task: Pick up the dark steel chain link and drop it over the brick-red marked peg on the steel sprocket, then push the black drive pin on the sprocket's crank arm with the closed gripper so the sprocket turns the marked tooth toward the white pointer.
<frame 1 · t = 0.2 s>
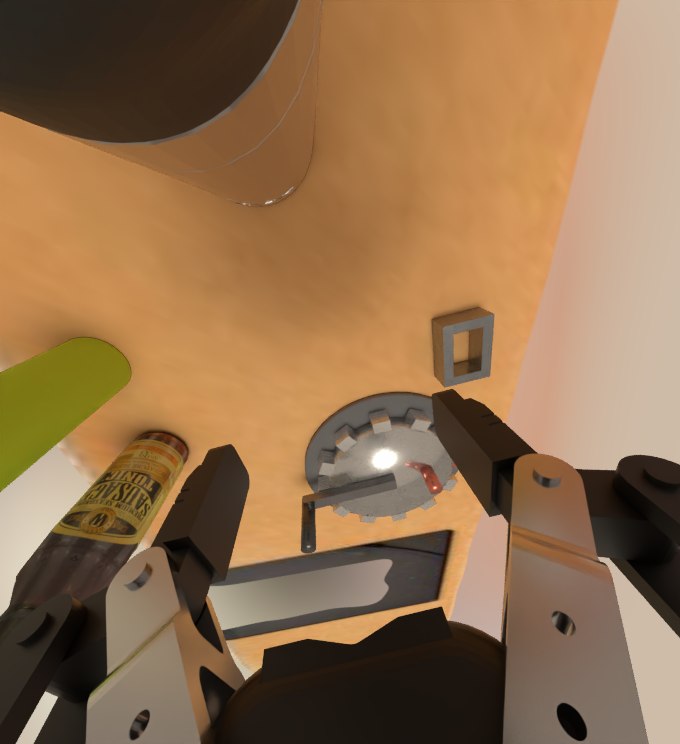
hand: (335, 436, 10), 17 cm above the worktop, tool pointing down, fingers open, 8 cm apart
chain link: (455, 343, 29), on the worktop
soap dispenser: (99, 369, 26), on the worktop
sprocket base: (385, 459, 36), on the worktop
sauce bottle: (161, 447, 31), on the worktop
sprocket: (386, 494, 32), point 5 cm above the worktop, hinge at 0.0°
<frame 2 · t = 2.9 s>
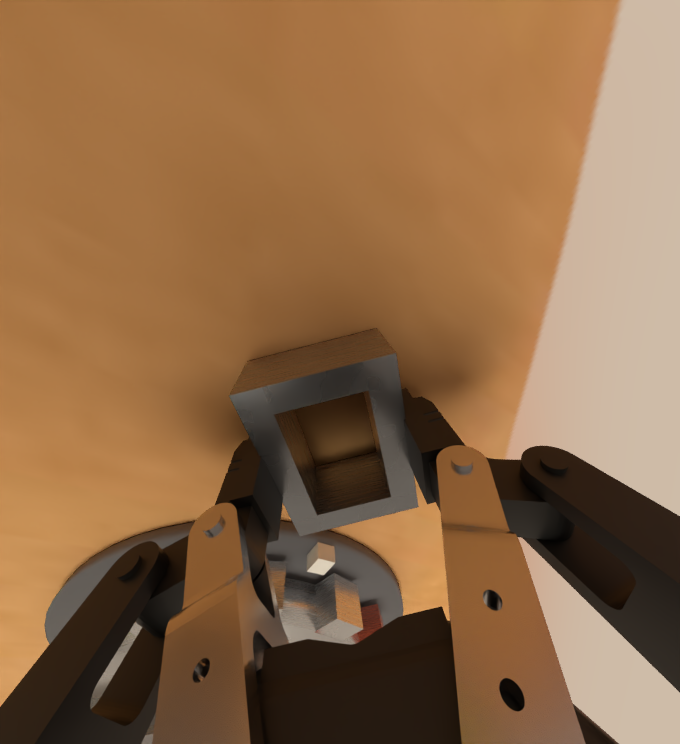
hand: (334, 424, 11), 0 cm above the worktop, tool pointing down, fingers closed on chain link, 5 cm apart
chain link: (333, 418, 11), on the worktop, touching gripper
sprocket base: (245, 622, 18), on the worktop
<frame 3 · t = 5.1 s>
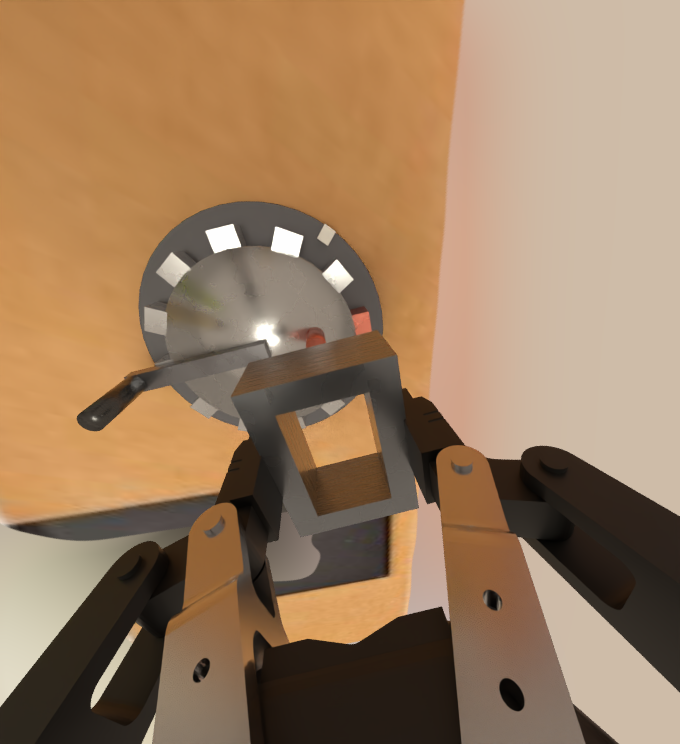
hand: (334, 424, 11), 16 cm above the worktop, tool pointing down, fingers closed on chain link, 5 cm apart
chain link: (334, 419, 11), point 16 cm above the worktop, touching gripper
sprocket base: (270, 336, 25), on the worktop
sprocket: (246, 361, 21), point 5 cm above the worktop, hinge at 0.0°
when the fingers open (7 cm above the worktop, at t = 7.2 s): chain link drops 4 cm, resting on sprocket.
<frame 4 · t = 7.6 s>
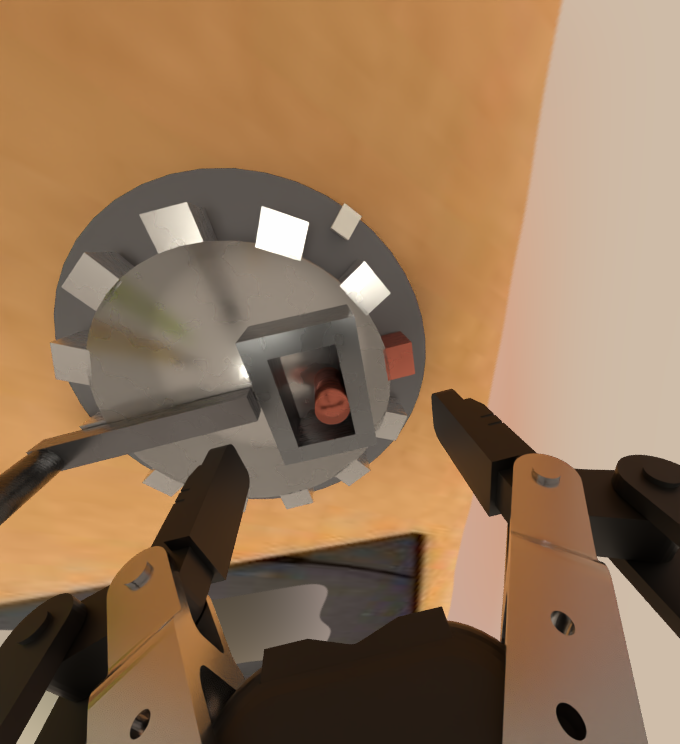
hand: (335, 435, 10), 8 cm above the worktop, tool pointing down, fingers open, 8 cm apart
chain link: (314, 376, 14), point 3 cm above the worktop, touching sprocket
sprocket base: (260, 375, 17), on the worktop
sprocket: (219, 427, 13), point 5 cm above the worktop, hinge at 0.0°, touching chain link
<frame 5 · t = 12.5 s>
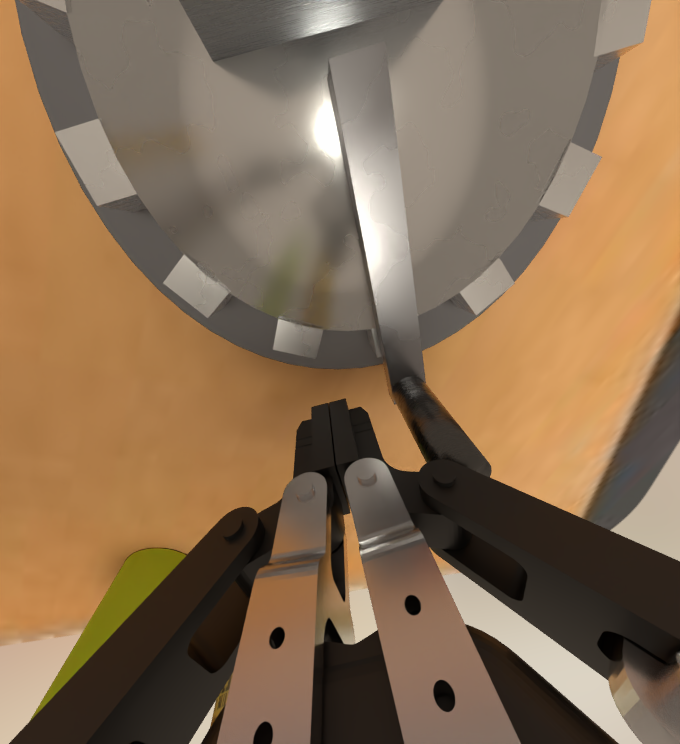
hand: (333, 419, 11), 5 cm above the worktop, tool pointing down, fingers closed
soap dispenser: (169, 565, 23), on the worktop
sprocket base: (343, 126, 11), on the worktop
sauce bottle: (287, 537, 23), on the worktop
sprocket: (374, 105, 7), point 5 cm above the worktop, hinge at 1.2°, touching chain link, gripper
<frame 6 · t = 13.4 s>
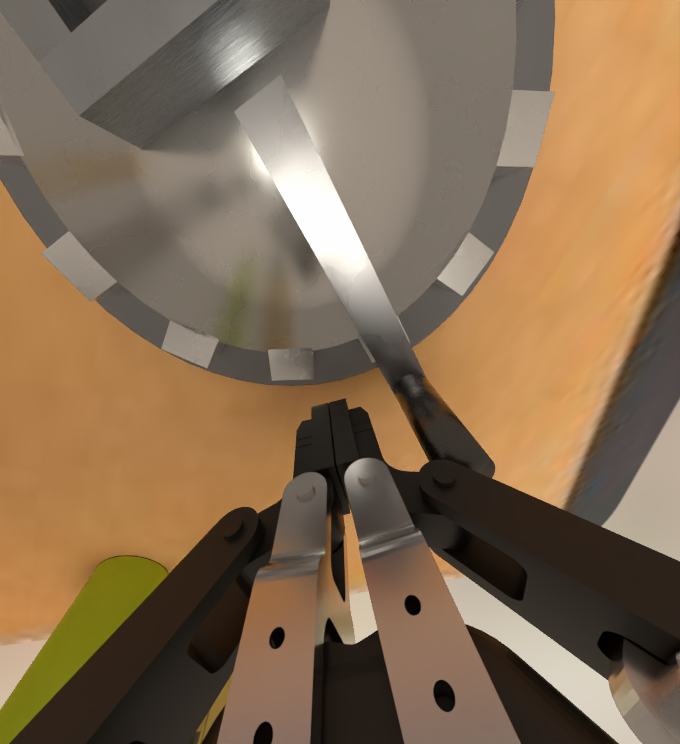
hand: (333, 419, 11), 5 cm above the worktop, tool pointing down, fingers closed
soap dispenser: (141, 572, 24), on the worktop
sprocket base: (281, 152, 11), on the worktop
sauce bottle: (257, 546, 23), on the worktop
sprocket: (284, 142, 7), point 5 cm above the worktop, hinge at 17.0°, touching chain link, gripper
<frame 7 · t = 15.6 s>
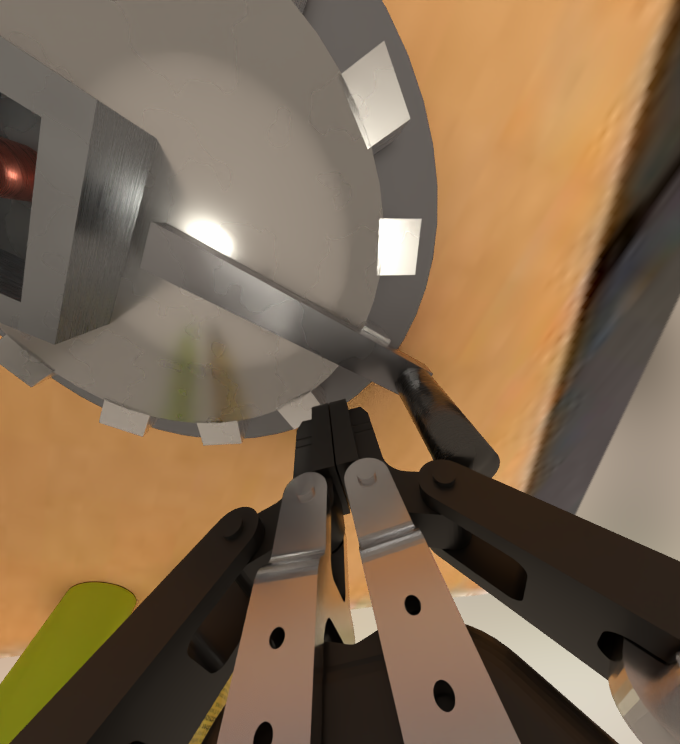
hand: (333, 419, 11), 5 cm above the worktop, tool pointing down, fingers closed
chain link: (50, 199, 9), point 3 cm above the worktop, touching sprocket
soap dispenser: (110, 596, 25), on the worktop
sprocket base: (204, 248, 12), on the worktop
sauce bottle: (219, 572, 25), on the worktop
sprocket: (178, 271, 8), point 5 cm above the worktop, hinge at 47.4°, touching chain link, gripper
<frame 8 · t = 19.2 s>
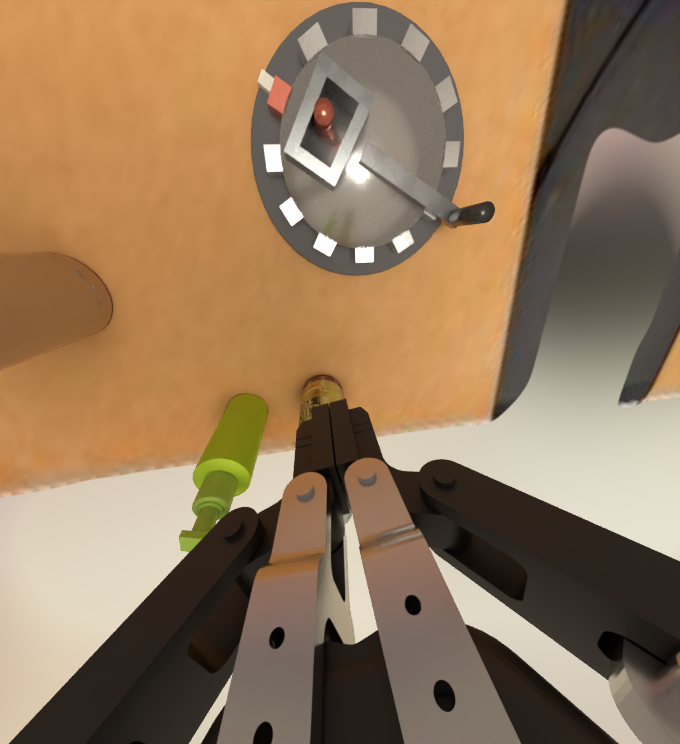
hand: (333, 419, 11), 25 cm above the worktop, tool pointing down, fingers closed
chain link: (327, 136, 24), point 3 cm above the worktop, touching sprocket
soap dispenser: (252, 409, 40), on the worktop
sprocket base: (359, 165, 28), on the worktop
sauce bottle: (321, 392, 40), on the worktop
sprocket: (380, 157, 24), point 5 cm above the worktop, hinge at 49.3°, touching chain link
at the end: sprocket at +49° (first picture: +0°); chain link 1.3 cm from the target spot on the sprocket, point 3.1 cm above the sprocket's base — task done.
